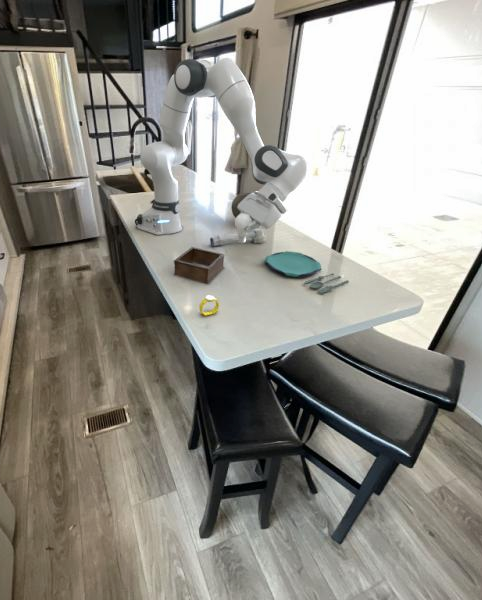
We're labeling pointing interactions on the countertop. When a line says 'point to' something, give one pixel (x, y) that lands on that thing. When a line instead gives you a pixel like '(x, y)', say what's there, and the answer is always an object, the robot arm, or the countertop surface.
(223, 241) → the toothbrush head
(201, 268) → the brown wooden box
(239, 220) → the lightbulb
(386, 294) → the countertop surface
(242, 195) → the cantaloupe
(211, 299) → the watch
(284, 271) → the cutlery set
